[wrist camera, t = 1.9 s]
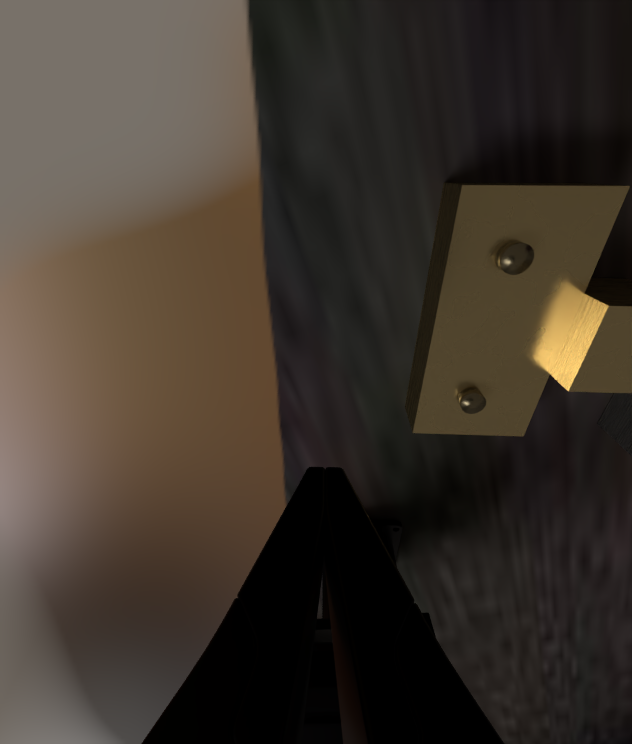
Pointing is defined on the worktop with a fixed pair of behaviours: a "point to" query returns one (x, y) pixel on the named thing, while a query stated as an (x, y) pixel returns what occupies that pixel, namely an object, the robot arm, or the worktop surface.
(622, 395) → the fixed steel leaf
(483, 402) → the brass leaf
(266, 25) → the worktop surface
